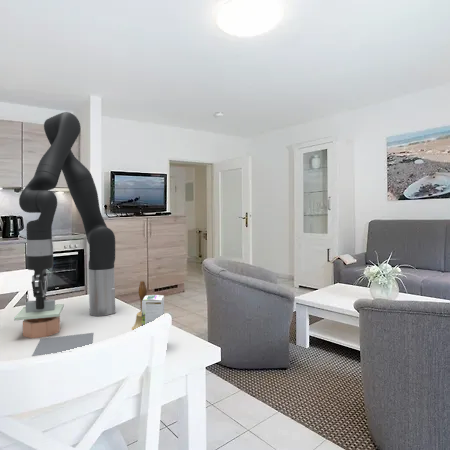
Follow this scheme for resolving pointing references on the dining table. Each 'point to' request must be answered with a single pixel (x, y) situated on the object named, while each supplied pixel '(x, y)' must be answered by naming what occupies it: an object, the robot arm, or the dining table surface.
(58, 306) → the cover sheet
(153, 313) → the syrup box
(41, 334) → the bowl
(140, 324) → the hand bell
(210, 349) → the dining table surface
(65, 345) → the mat
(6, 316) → the dining table surface
